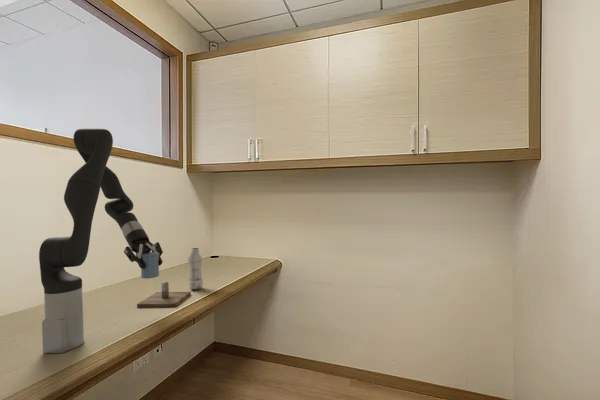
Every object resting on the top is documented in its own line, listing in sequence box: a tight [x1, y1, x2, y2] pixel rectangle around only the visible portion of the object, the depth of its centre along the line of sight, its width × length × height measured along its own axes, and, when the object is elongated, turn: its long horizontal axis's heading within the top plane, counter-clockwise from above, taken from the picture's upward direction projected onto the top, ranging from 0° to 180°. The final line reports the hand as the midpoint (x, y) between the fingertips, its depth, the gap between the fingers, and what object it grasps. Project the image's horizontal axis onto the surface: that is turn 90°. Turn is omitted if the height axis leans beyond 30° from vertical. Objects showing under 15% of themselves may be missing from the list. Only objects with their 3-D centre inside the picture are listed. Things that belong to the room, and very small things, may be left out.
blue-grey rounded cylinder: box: [140, 251, 160, 280], centre depth 121 cm, size 6×6×9 cm
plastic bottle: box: [187, 247, 204, 291], centre depth 151 cm, size 6×7×20 cm
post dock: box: [136, 281, 192, 309], centre depth 134 cm, size 16×16×8 cm
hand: (152, 265), depth 120 cm, fingers closed on blue-grey rounded cylinder, 6 cm apart
